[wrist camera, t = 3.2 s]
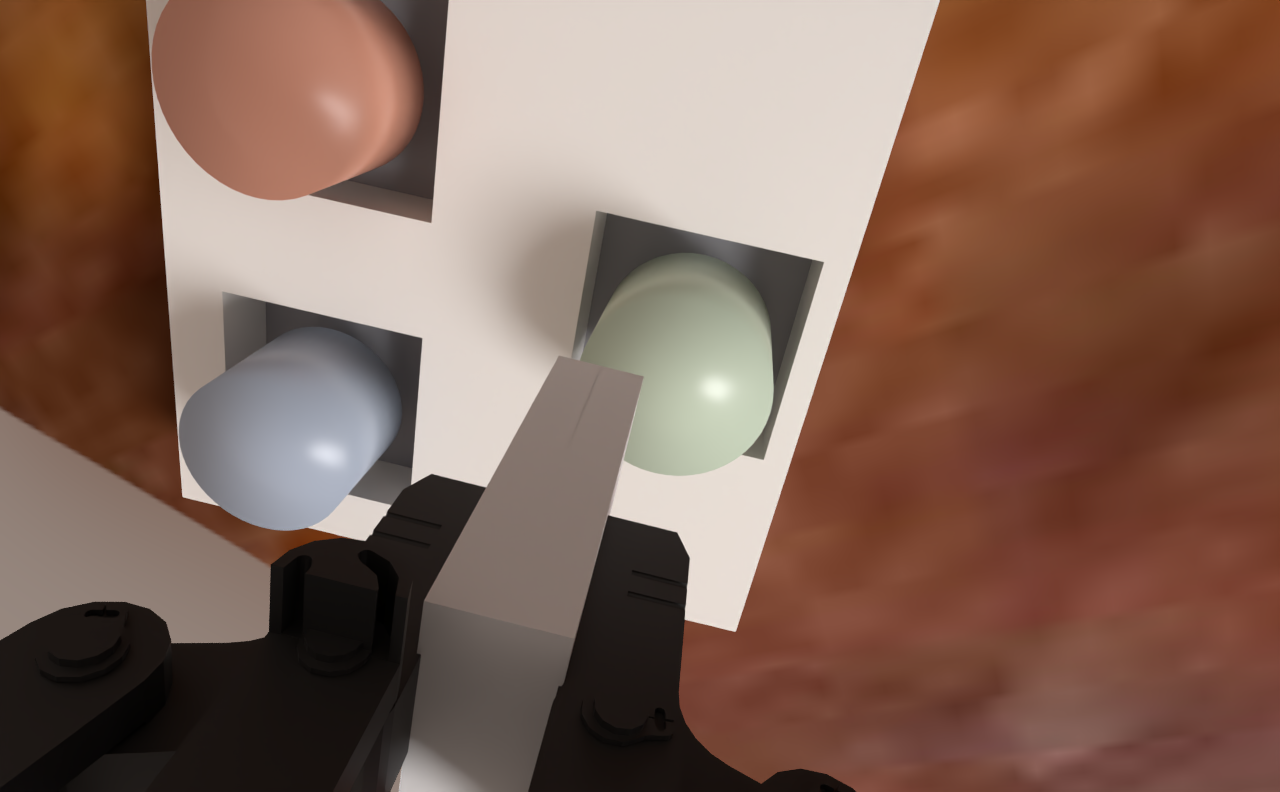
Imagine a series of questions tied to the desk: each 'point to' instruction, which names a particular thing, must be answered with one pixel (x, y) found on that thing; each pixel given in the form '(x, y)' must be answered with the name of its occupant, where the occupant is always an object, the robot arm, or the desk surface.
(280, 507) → the slate button
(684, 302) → the sage button
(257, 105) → the terracotta button
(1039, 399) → the desk surface
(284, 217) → the console
